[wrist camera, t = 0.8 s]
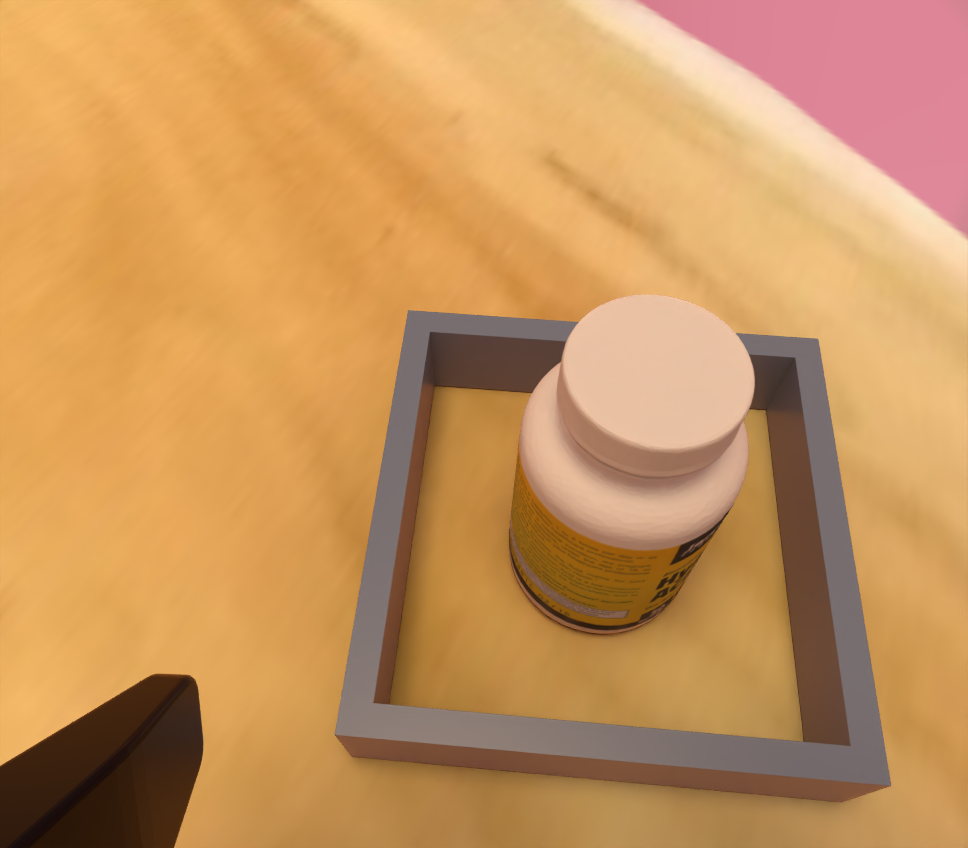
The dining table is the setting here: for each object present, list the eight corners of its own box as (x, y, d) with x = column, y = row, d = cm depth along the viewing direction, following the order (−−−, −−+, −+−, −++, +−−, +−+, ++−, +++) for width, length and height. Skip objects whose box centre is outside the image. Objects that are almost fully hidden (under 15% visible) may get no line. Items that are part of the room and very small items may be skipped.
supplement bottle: (654, 669, 23) (752, 525, 15) (480, 594, 24) (480, 422, 16) (706, 511, 26) (815, 313, 17) (547, 450, 27) (577, 238, 18)
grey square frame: (841, 801, 21) (891, 785, 19) (351, 756, 22) (334, 735, 19) (787, 391, 28) (818, 338, 25) (414, 365, 29) (408, 310, 26)
